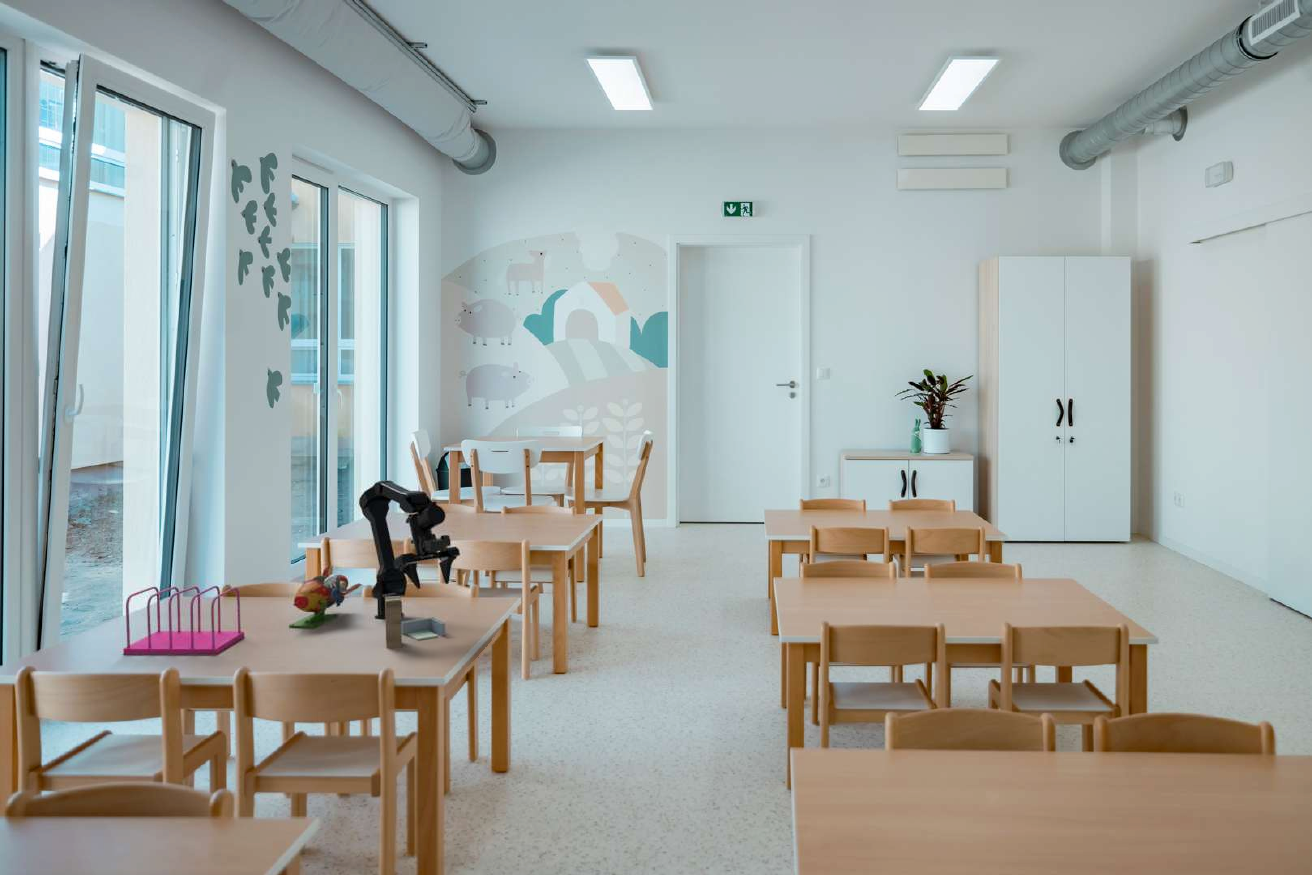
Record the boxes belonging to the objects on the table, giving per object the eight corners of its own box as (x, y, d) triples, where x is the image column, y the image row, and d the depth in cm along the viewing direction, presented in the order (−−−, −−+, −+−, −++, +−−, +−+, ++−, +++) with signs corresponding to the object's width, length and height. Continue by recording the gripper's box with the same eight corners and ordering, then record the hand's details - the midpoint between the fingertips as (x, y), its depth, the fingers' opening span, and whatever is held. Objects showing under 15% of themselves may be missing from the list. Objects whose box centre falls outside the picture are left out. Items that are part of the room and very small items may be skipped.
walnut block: (386, 643, 268) (385, 596, 267) (400, 641, 269) (400, 595, 268) (386, 648, 263) (385, 600, 262) (401, 646, 264) (400, 599, 263)
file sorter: (157, 637, 275) (155, 582, 274) (244, 637, 274) (243, 582, 273) (122, 655, 257) (120, 596, 256) (216, 655, 257) (214, 597, 256)
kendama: (332, 606, 316) (355, 586, 334) (327, 588, 315) (351, 569, 333) (310, 609, 318) (335, 590, 335) (305, 591, 317) (330, 573, 334)
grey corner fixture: (401, 633, 277) (401, 621, 277) (433, 628, 283) (433, 616, 282) (413, 640, 270) (412, 628, 270) (445, 635, 275) (445, 623, 275)
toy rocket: (275, 630, 281) (273, 578, 280) (317, 610, 306) (316, 562, 305) (320, 632, 279) (319, 580, 278) (360, 611, 303) (359, 563, 302)
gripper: (405, 529, 269) (417, 584, 265) (463, 522, 281) (475, 574, 278) (387, 540, 276) (399, 593, 273) (444, 533, 289) (456, 583, 286)
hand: (433, 586), depth 277 cm, fingers open, 9 cm apart
